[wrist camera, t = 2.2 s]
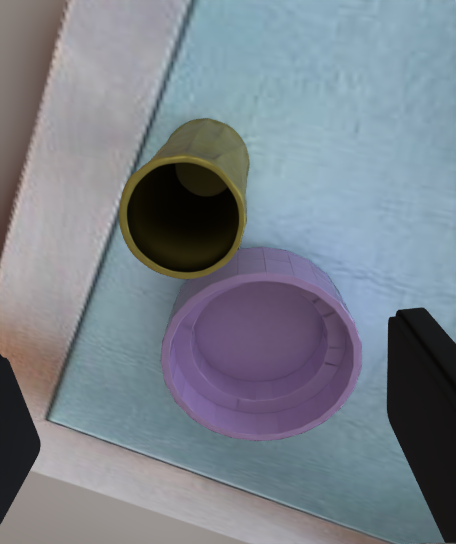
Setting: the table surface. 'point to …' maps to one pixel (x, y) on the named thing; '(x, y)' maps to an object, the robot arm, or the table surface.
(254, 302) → the bowl
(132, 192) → the vase
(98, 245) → the table surface
